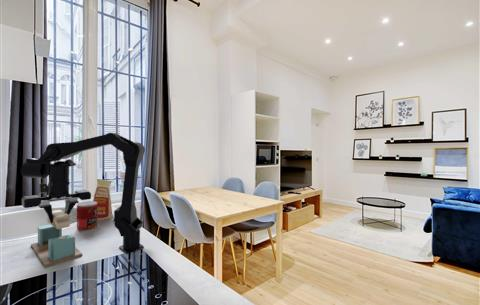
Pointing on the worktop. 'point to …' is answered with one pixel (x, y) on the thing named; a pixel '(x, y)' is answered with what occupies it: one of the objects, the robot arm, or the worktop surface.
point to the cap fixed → (48, 233)
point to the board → (43, 254)
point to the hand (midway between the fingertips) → (58, 221)
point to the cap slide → (61, 247)
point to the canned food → (86, 215)
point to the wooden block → (60, 219)
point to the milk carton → (103, 199)
